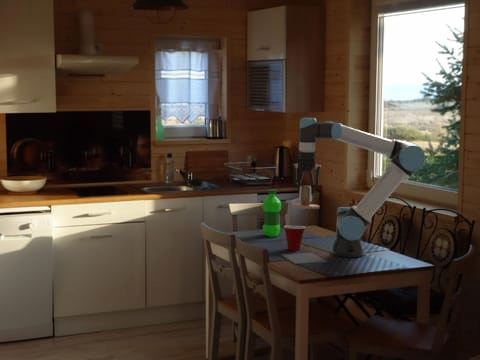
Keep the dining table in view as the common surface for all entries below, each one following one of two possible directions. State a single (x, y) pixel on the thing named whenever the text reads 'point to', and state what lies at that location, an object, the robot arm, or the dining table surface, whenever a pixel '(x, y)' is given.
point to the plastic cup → (294, 236)
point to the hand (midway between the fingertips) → (305, 200)
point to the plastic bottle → (271, 214)
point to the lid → (305, 200)
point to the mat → (303, 258)
